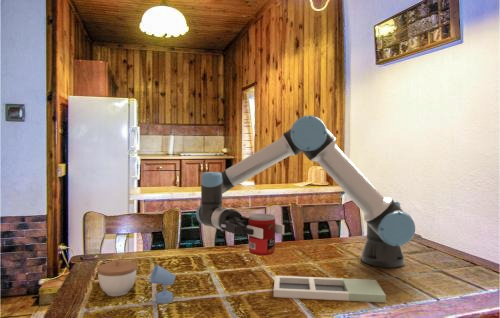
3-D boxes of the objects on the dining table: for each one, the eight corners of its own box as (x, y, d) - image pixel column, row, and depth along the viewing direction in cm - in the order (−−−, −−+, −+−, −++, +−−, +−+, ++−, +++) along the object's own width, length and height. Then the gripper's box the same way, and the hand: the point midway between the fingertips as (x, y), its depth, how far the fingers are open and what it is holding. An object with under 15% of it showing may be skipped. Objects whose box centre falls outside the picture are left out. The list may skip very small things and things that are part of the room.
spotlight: (151, 305, 99) (176, 302, 101) (150, 268, 98) (176, 266, 101) (149, 298, 103) (173, 295, 106) (149, 263, 103) (173, 260, 105)
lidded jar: (144, 288, 111) (144, 257, 111) (120, 302, 101) (120, 268, 101) (115, 283, 115) (114, 253, 114) (89, 296, 104) (89, 263, 104)
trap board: (375, 286, 114) (375, 279, 114) (385, 302, 102) (385, 295, 102) (275, 281, 117) (275, 275, 117) (273, 296, 105) (273, 290, 105)
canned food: (273, 256, 107) (273, 218, 106) (246, 255, 108) (246, 217, 108) (276, 249, 114) (276, 214, 114) (251, 248, 116) (251, 213, 115)
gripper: (250, 226, 131) (297, 239, 114) (201, 235, 118) (245, 250, 101) (250, 205, 131) (297, 215, 113) (201, 212, 118) (245, 223, 101)
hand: (272, 231), depth 107 cm, fingers closed on canned food, 8 cm apart
